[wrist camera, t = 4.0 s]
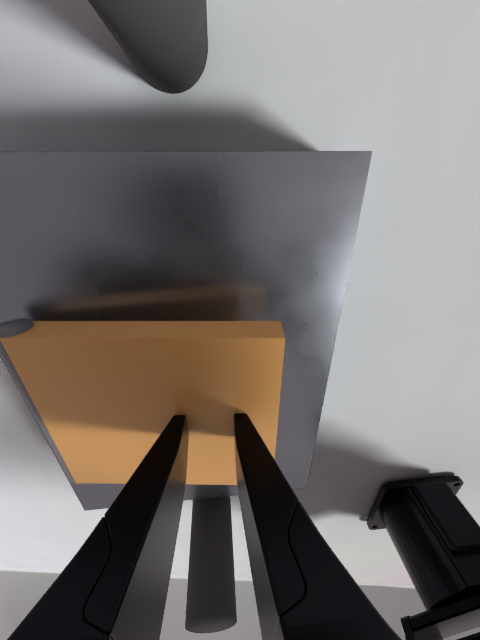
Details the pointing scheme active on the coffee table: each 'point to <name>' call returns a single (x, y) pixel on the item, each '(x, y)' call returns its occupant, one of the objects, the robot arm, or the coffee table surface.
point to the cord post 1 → (160, 38)
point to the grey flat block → (189, 258)
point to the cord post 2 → (211, 567)
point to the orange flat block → (146, 389)
